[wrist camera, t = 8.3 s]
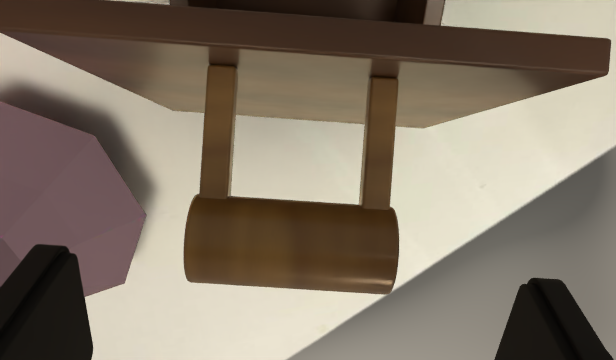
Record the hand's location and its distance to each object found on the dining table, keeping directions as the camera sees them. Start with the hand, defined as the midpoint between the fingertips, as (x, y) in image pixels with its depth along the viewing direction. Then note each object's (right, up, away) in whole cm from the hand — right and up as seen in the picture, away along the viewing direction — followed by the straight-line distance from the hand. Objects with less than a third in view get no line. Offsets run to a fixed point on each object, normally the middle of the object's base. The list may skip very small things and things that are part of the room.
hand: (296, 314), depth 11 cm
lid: (0, +7, +7) cm, 10 cm away
